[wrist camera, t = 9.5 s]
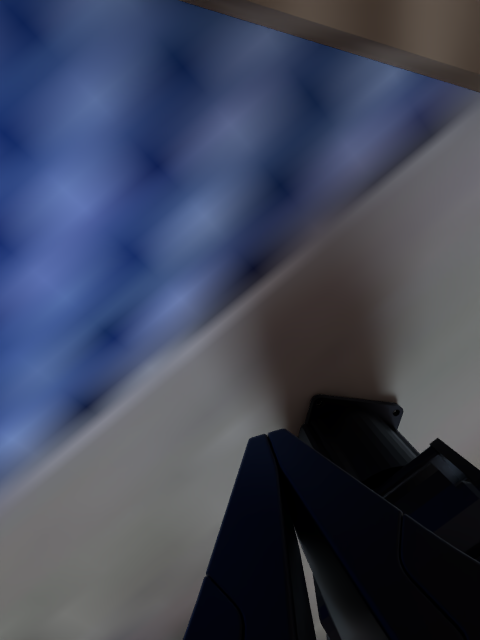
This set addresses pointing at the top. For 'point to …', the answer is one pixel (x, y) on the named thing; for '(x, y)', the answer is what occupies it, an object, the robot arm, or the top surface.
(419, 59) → the brown flat board
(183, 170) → the top surface
